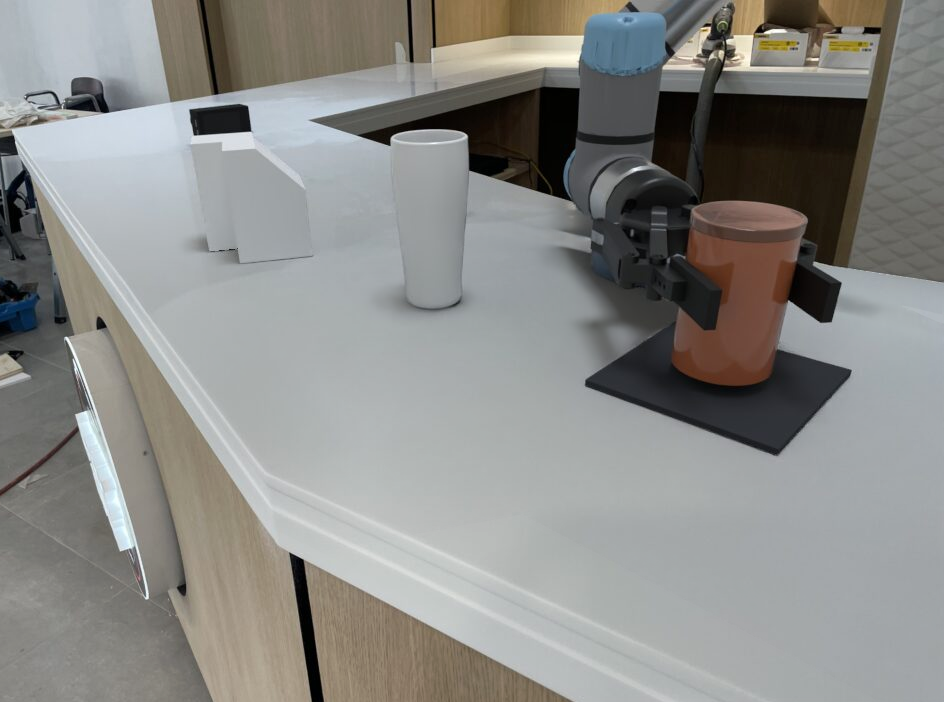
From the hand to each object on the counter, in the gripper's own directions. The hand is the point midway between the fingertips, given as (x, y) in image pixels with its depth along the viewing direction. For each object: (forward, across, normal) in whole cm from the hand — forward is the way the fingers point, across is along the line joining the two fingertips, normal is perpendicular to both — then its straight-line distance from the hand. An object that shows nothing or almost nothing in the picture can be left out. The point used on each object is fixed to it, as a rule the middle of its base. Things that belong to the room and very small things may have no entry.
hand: (772, 306), depth 46 cm
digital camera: (-112, +52, -8) cm, 124 cm away
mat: (-5, 0, -8) cm, 9 cm away
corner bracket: (-44, +38, -8) cm, 58 cm away
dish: (-29, -4, -8) cm, 31 cm away
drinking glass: (-24, +19, -8) cm, 32 cm away
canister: (-5, 0, -6) cm, 8 cm away
